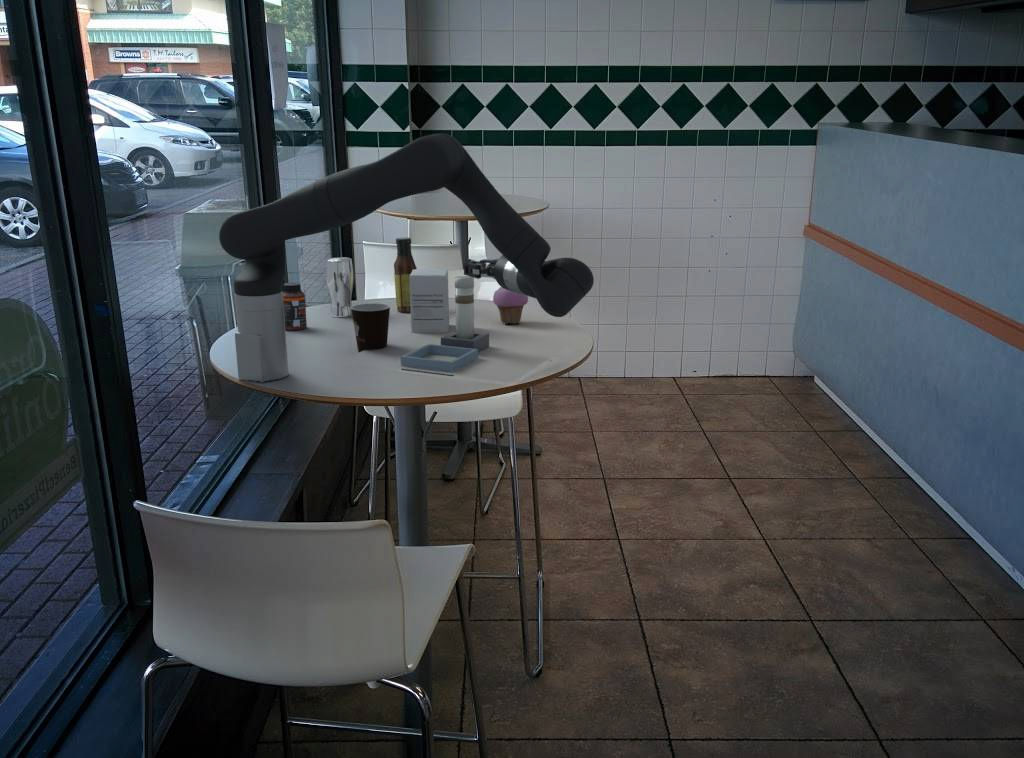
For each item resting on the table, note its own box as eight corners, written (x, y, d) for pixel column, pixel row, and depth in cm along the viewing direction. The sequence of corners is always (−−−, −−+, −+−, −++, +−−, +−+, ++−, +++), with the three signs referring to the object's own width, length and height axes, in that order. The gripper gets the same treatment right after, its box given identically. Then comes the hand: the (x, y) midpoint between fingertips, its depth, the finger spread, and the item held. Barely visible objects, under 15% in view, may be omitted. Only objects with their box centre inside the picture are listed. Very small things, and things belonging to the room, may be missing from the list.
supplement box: (414, 328, 223) (412, 268, 219) (449, 328, 223) (448, 268, 219) (410, 336, 214) (408, 274, 210) (447, 336, 214) (446, 274, 210)
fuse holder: (478, 359, 193) (478, 341, 192) (436, 354, 197) (435, 337, 196) (494, 351, 201) (493, 334, 199) (452, 346, 205) (452, 329, 203)
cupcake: (526, 319, 233) (527, 281, 230) (528, 327, 224) (528, 287, 222) (492, 320, 232) (492, 282, 230) (493, 327, 224) (493, 288, 221)
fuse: (469, 351, 196) (468, 279, 192) (452, 350, 198) (451, 278, 193) (477, 347, 200) (477, 276, 195) (461, 345, 201) (459, 275, 197)
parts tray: (452, 376, 181) (452, 362, 180) (401, 370, 185) (400, 356, 185) (478, 362, 191) (477, 349, 191) (428, 356, 196) (428, 343, 195)
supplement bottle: (303, 331, 220) (300, 285, 216) (279, 331, 220) (276, 285, 217) (309, 325, 225) (306, 281, 222) (286, 325, 225) (283, 281, 222)
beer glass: (329, 312, 241) (326, 257, 237) (355, 312, 241) (353, 257, 237) (327, 318, 234) (324, 261, 230) (354, 317, 235) (351, 261, 231)
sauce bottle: (423, 309, 245) (421, 237, 239) (412, 314, 239) (409, 239, 234) (403, 307, 247) (400, 235, 242) (391, 312, 242) (388, 238, 236)
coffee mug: (390, 355, 197) (388, 310, 195) (351, 355, 197) (348, 311, 194) (393, 342, 208) (391, 300, 206) (356, 343, 208) (354, 300, 205)
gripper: (554, 251, 172) (516, 242, 185) (487, 256, 165) (453, 246, 179) (554, 290, 174) (516, 277, 188) (488, 296, 167) (454, 283, 181)
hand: (485, 262), depth 183 cm, fingers open, 8 cm apart
